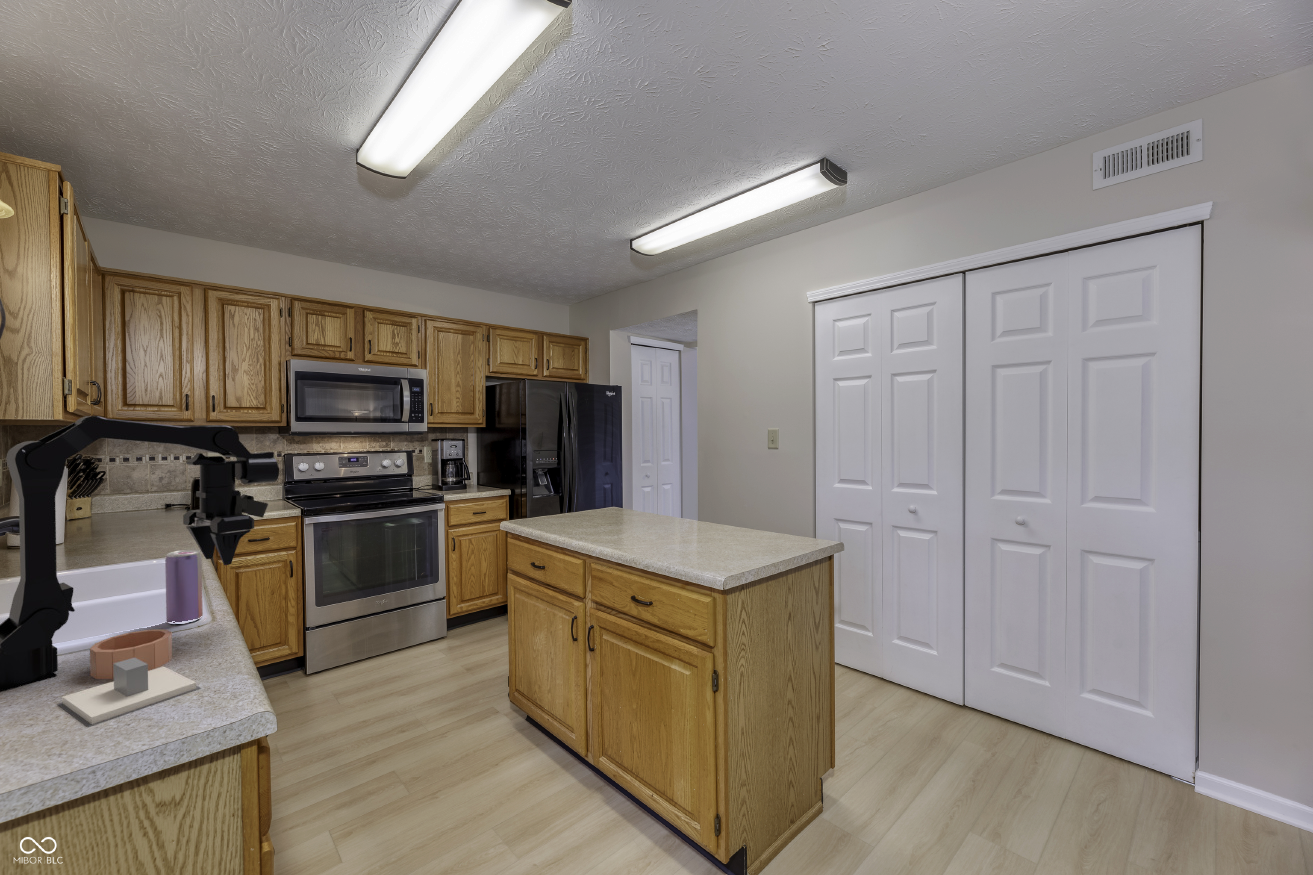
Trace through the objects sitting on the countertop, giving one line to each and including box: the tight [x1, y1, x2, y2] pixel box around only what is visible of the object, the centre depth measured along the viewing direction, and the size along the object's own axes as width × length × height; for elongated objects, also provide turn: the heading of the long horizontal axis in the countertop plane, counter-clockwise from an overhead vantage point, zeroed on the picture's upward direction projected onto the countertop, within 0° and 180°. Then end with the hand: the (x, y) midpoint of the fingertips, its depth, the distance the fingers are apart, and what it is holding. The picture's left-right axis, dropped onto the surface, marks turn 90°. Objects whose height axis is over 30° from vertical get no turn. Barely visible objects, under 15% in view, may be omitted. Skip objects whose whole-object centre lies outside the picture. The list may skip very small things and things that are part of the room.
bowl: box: [89, 628, 173, 680], centre depth 96 cm, size 10×10×5 cm
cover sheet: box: [61, 658, 197, 724], centre depth 85 cm, size 12×12×5 cm
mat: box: [56, 685, 202, 728], centre depth 85 cm, size 13×13×1 cm
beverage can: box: [164, 549, 204, 624], centre depth 119 cm, size 6×6×15 cm
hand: (218, 561), depth 113 cm, fingers open, 9 cm apart
